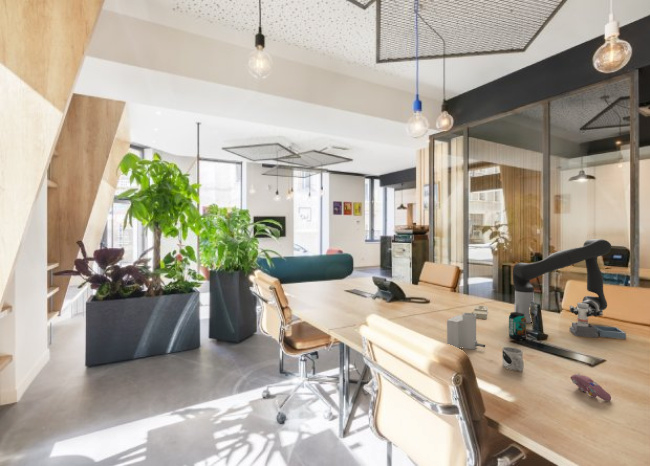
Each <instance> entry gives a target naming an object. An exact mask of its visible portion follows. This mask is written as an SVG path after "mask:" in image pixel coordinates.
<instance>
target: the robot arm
mask: <svg viewBox="0 0 650 466" xmlns="http://www.w3.org/2000/svg"><path fill="white" fill-rule="evenodd" d="M611 249H612V245H611V243H610V242H609V241H608V240H605V239H602V238H593V239H591V238H590V239H587V240H586V241H584V243H583V246H579V247H574V248H566V249H562V250H558V251H556V252H553V253H550V254H549V255H548V256H546V257H545V258H544V259H542V260H540V261H536V262H531V263H526V262H525V263H524V262H518V263H515V264H514V266H513V268H512V283H513V287H514V304H513V305H514V311H513V312H518V313H523V314H524V316H525V318H526V324H532V323H531V318H530V314H529V307H530V304H531V302H534V303H535V288H534V286H533V285H532V284H531V280H534V279H537V278H538V277H541V276H542V275H545V274H547V273H550V272H554V271H557V270H560V269H564V268H567V267H569V266H573V265H575V264H579V263H581V262H583V261H585V266H586V267H585V268H586V290H587V292H590V293H593V294H596V295H597V296H592V295H585V296H584V297H583V298H582V301H581V303H586V304H589V309H588V312H587V317H588V318H589V317H595V318H596V317H600V316H604V315H603V314H604V313H603V312H604V311H605V310H606V309H607V307H608V303H607V299H606V296H605V293H604V276H603V273H602V271H601V269H600V267H599V264H598V257H603V256H605V255H608V254H609V252H610V251H612V250H611ZM569 312H570V313H572V314H574V315H576V316H578V307H577V306H576V307H574V306H573V305H569Z"/></svg>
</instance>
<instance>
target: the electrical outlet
mask: <svg viewBox="0 0 650 466" xmlns="http://www.w3.org/2000/svg"><path fill="white" fill-rule="evenodd" d="M473 313H474V314H476V319H482V318H483V319H484V320H487V319H488V313H489V307H488V305H479V304H476V305H475V307H474V311H473ZM483 319H482V320H483Z"/></svg>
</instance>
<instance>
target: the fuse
mask: <svg viewBox="0 0 650 466" xmlns="http://www.w3.org/2000/svg"><path fill="white" fill-rule="evenodd" d="M576 304H577V305H576V307H578V315H577V322H576V323H577V325H578V326H585V327H588V324H589V317H587V312H588V309H589V304H586V303H582V302H577V303H576Z"/></svg>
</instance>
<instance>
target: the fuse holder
mask: <svg viewBox="0 0 650 466" xmlns="http://www.w3.org/2000/svg"><path fill="white" fill-rule="evenodd" d="M577 323H578V322H575V321H573V322H571V326H569V332H571V333H572V334H573V335H574V336H575V337H586V338H595V339H598V338H599V335H598V333H596V332H595V327H593V325H592V324H591V323H588V327H585V326H578V325H577Z"/></svg>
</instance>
